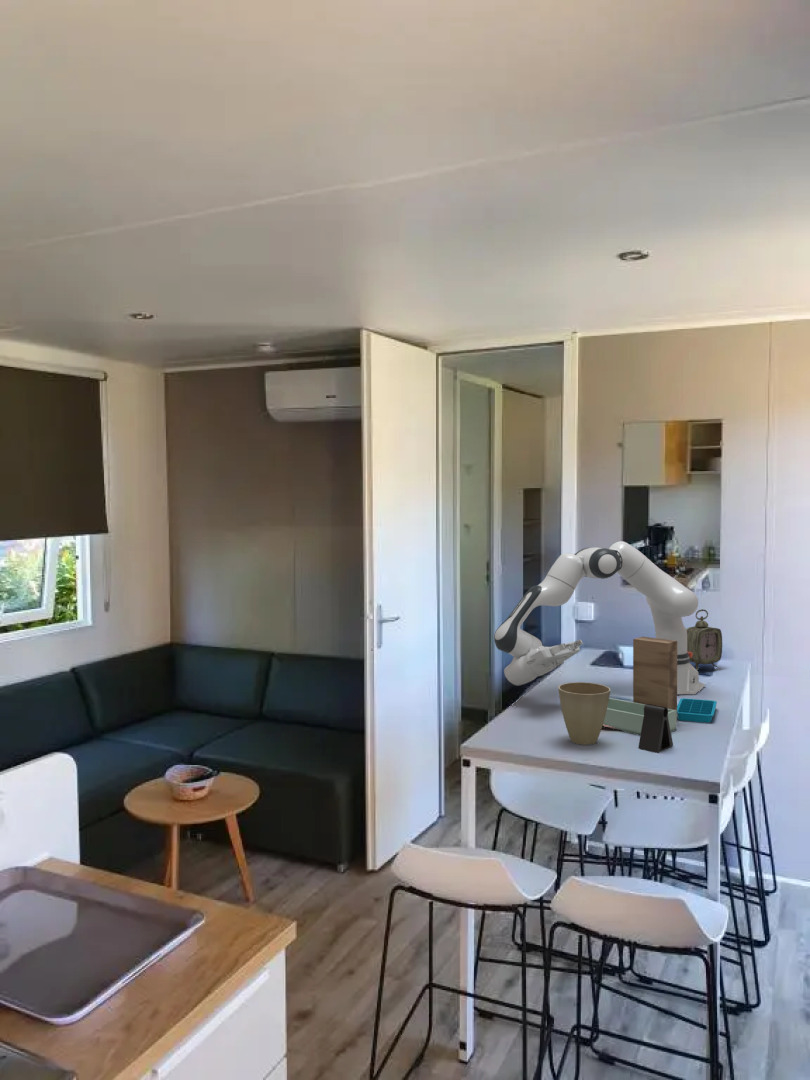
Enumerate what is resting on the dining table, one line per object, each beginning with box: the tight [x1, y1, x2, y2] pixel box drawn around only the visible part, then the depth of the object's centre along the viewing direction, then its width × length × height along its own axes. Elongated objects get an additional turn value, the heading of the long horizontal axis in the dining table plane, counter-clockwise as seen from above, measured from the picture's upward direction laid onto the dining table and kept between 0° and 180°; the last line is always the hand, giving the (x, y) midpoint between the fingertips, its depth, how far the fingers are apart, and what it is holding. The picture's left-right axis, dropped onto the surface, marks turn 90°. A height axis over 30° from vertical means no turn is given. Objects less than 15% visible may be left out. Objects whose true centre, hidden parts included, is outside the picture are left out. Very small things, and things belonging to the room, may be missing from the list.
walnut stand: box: [632, 636, 678, 710], centre depth 265 cm, size 6×12×26 cm, turn 45°
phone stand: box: [637, 704, 674, 754], centre depth 238 cm, size 9×6×12 cm, turn 134°
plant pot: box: [557, 681, 611, 746], centre depth 244 cm, size 15×15×16 cm
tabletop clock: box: [686, 608, 723, 671], centre depth 339 cm, size 14×9×25 cm, turn 119°
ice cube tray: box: [677, 697, 718, 724], centre depth 273 cm, size 12×20×3 cm, turn 156°
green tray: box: [603, 697, 678, 736], centre depth 261 cm, size 13×28×6 cm, turn 45°
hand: (572, 643), depth 273 cm, fingers open, 8 cm apart
